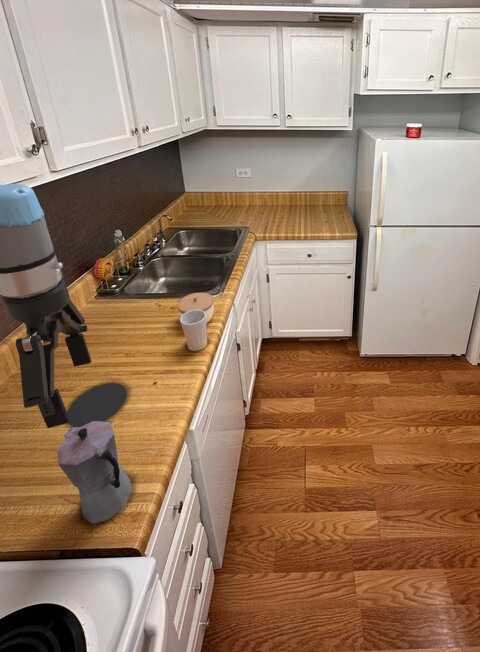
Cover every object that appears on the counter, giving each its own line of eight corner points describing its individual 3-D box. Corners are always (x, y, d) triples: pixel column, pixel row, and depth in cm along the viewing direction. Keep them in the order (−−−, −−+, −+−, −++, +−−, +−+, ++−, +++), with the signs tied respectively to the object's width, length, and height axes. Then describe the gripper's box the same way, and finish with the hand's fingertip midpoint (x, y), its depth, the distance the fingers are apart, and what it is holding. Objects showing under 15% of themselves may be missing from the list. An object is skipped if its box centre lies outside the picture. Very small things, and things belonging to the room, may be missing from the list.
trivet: (59, 437, 82) (58, 434, 82) (76, 393, 95) (75, 390, 94) (122, 420, 87) (122, 417, 86) (131, 380, 99) (130, 377, 99)
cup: (190, 337, 116) (186, 309, 112) (213, 338, 116) (209, 310, 112) (181, 354, 109) (175, 324, 105) (205, 354, 109) (200, 324, 104)
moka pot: (105, 464, 76) (83, 400, 69) (156, 491, 71) (138, 425, 64) (62, 509, 68) (32, 441, 60) (117, 543, 63) (91, 474, 55)
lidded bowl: (208, 308, 133) (205, 284, 129) (221, 323, 124) (218, 298, 120) (176, 320, 126) (171, 295, 122) (187, 337, 116) (183, 311, 112)
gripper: (28, 331, 41) (75, 449, 49) (84, 250, 63) (111, 340, 70) (-50, 345, 38) (13, 466, 46) (37, 256, 60) (69, 348, 68)
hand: (72, 390), depth 58 cm, fingers open, 13 cm apart
